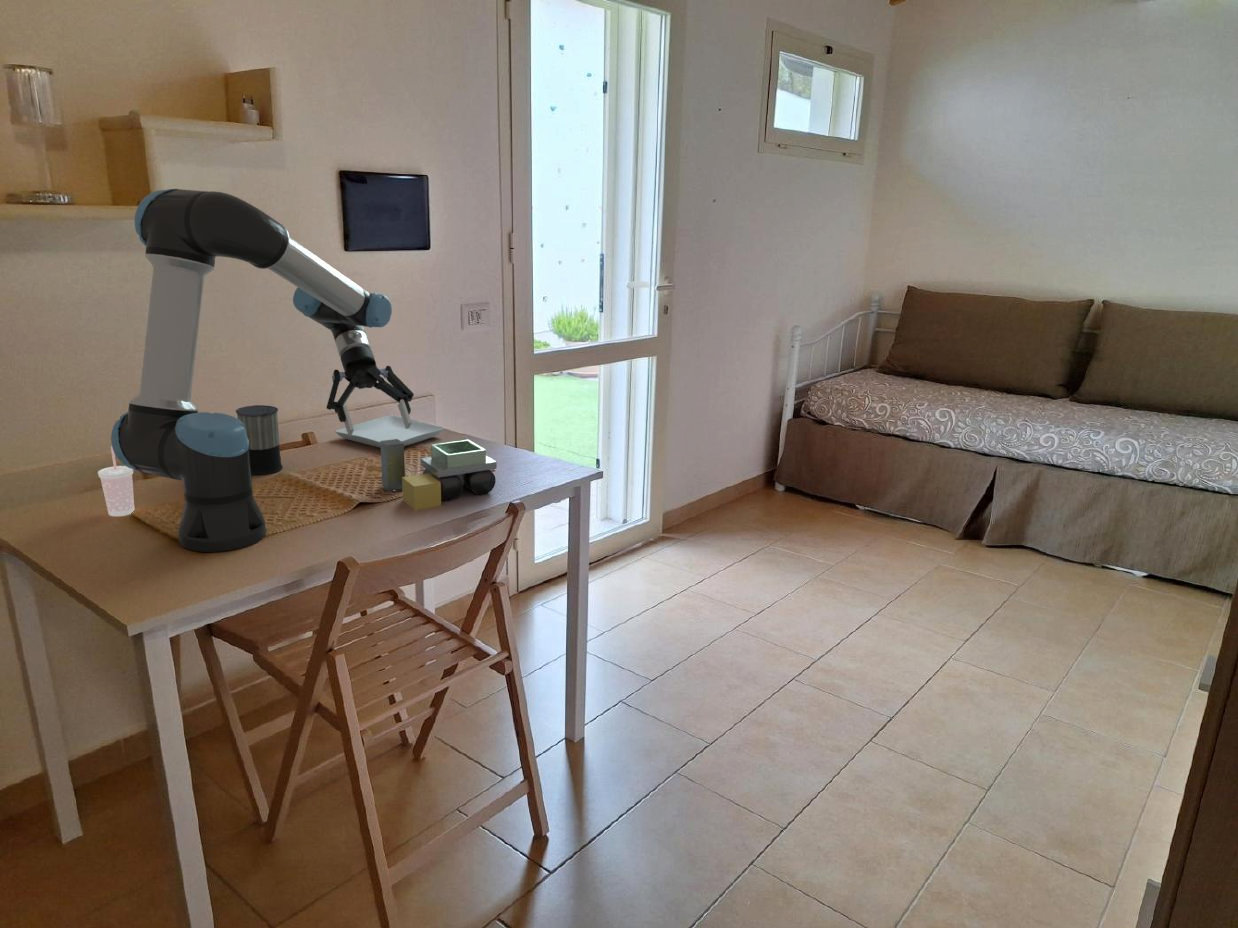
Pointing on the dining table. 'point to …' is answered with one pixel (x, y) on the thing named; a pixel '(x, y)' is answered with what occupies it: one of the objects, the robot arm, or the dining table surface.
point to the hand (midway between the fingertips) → (380, 429)
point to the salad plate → (390, 431)
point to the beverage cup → (117, 488)
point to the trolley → (460, 468)
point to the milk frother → (262, 438)
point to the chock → (421, 491)
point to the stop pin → (392, 464)
